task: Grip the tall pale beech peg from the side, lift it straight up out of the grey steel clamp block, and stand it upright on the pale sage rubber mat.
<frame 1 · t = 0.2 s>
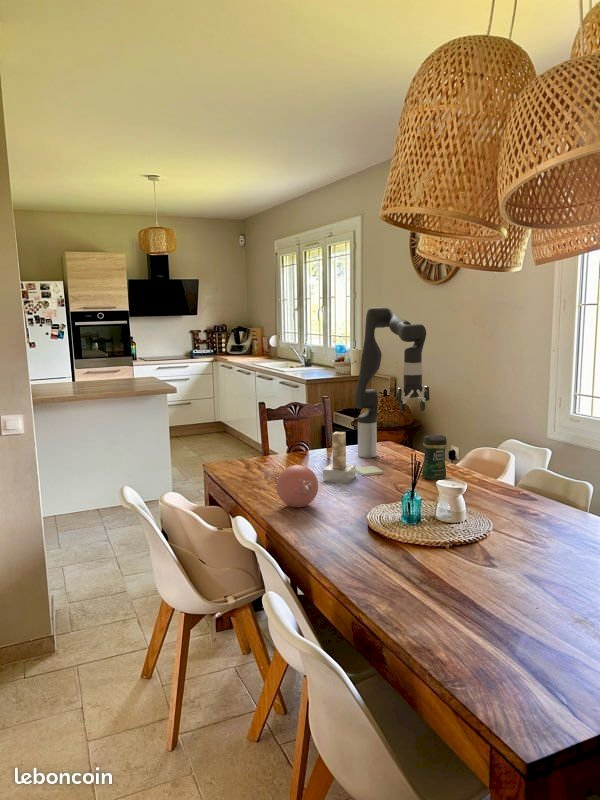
hand: (412, 411, 236), 29 cm above the table, tool pointing down, fingers open, 8 cm apart
sage mat: (368, 471, 253), on the table
pink rubber ball: (299, 508, 207), on the table
clamp block: (339, 478, 244), on the table
beech peg: (339, 455, 242), in the clamp block
coffee jar: (434, 478, 242), on the table
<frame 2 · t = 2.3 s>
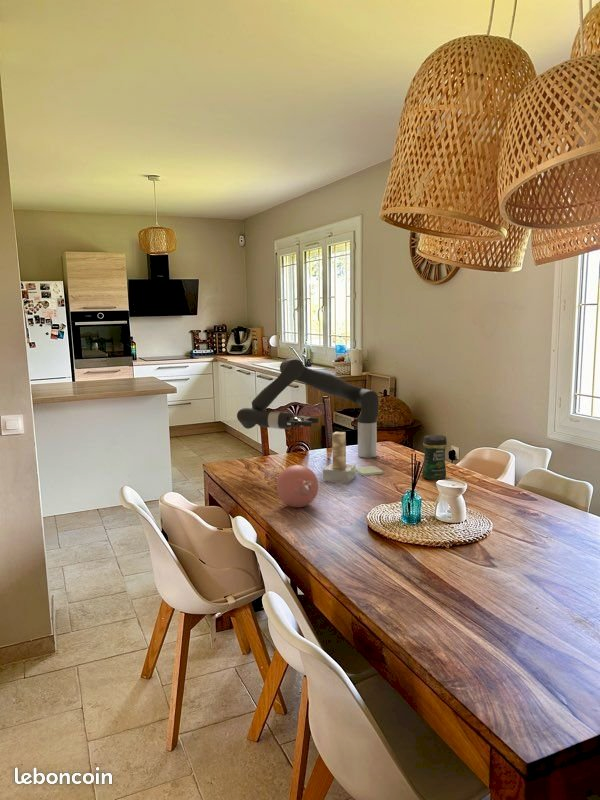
hand: (314, 422, 244), 24 cm above the table, tool horizontal, fingers open, 8 cm apart
nothing on the table moved.
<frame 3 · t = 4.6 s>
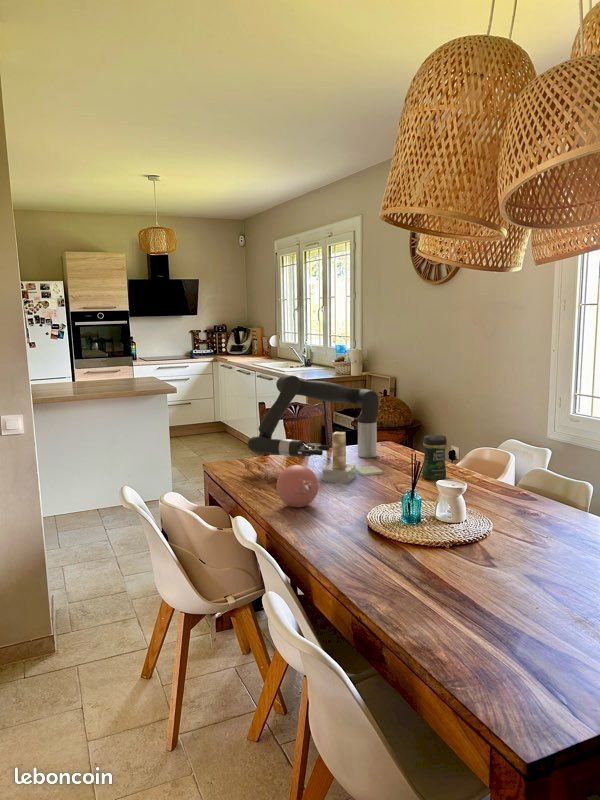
hand: (325, 450, 244), 12 cm above the table, tool horizontal, fingers open, 8 cm apart
nothing on the table moved.
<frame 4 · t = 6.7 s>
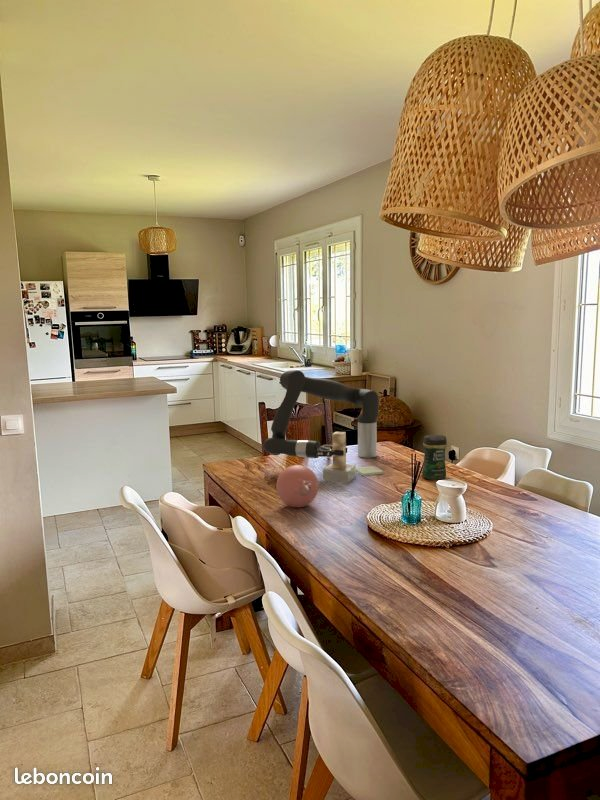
hand: (345, 451, 241), 12 cm above the table, tool horizontal, fingers closed on beech peg, 4 cm apart
beech peg: (339, 455, 242), in the clamp block, touching gripper
everything else where it was.
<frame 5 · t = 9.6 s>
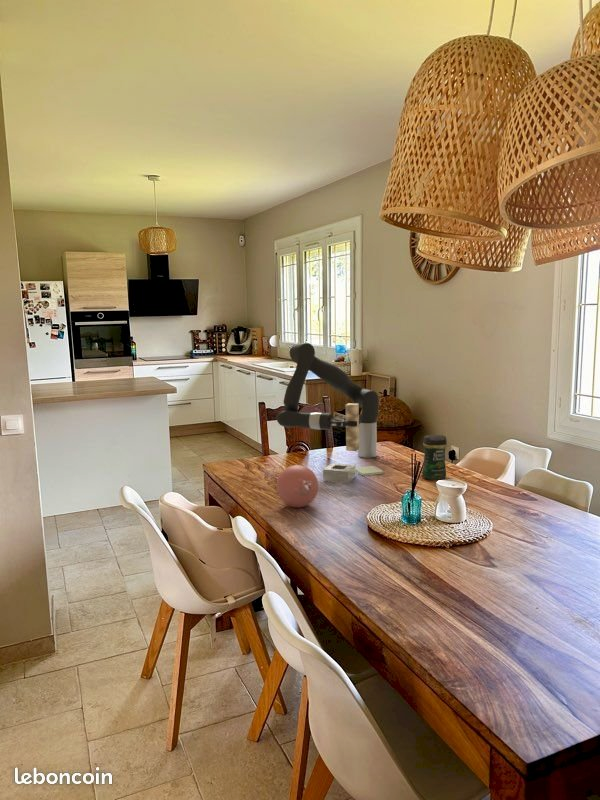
hand: (358, 422, 244), 24 cm above the table, tool horizontal, fingers closed on beech peg, 4 cm apart
beech peg: (352, 427, 245), point 22 cm above the table, touching gripper
everything else where it was.
when the fingers open (14 cm above the table, at t = 12.5 s): beech peg stays where it is, resting on sage mat.
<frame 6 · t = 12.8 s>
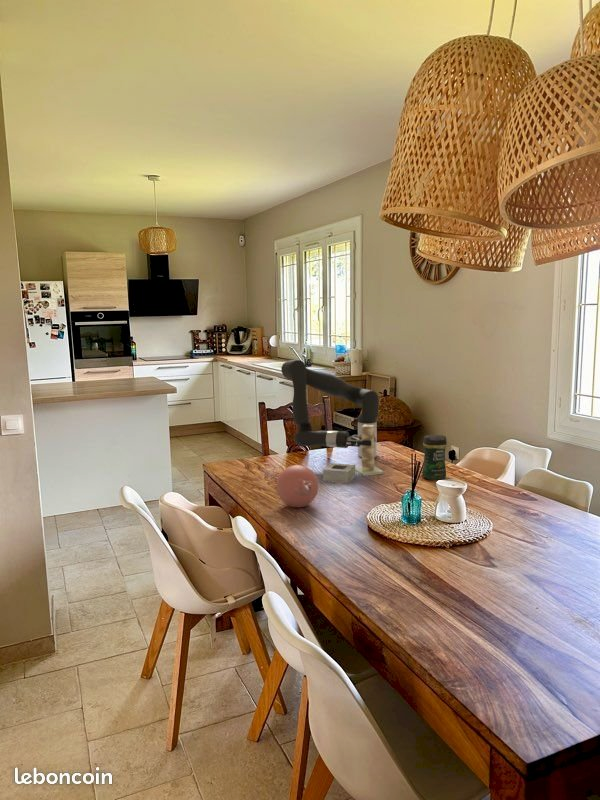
hand: (373, 441, 251), 14 cm above the table, tool horizontal, fingers open, 7 cm apart
beech peg: (368, 447, 252), on the sage mat, point 11 cm above the table
everything else where it was.
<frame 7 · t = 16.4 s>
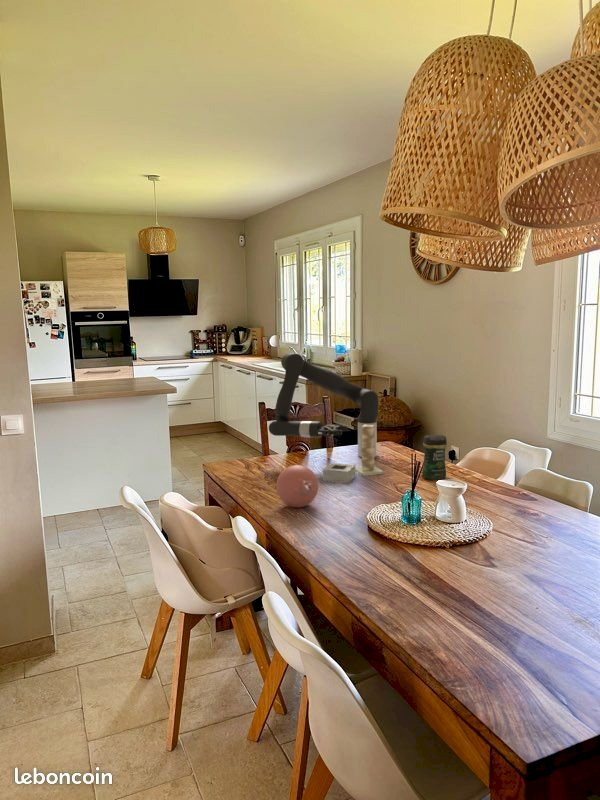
hand: (344, 430, 255), 18 cm above the table, tool horizontal, fingers open, 8 cm apart
nothing on the table moved.
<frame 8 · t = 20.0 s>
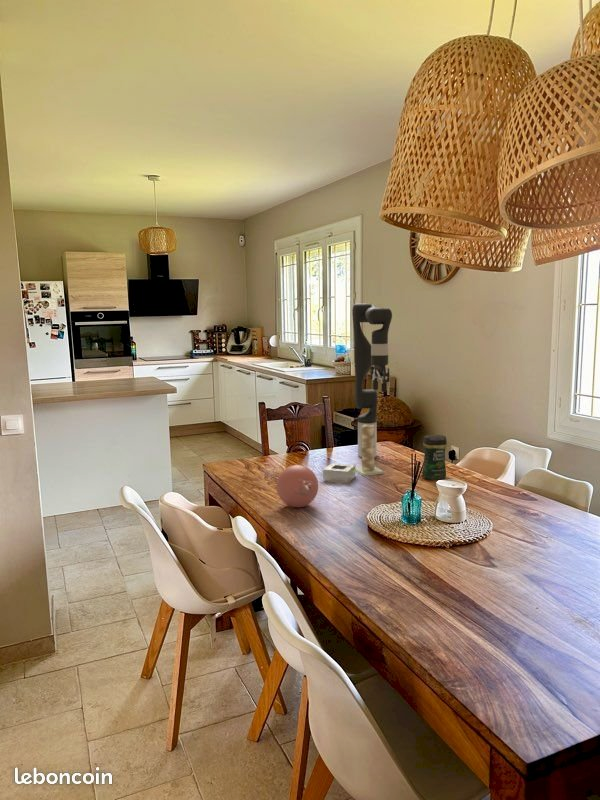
hand: (379, 390, 251), 36 cm above the table, tool pointing down, fingers open, 8 cm apart
nothing on the table moved.
at the end: beech peg inside the target area on the sage mat (0.1 cm from its centre), point 11.0 cm above the sage mat's base; beech peg tilted 0°; beech peg touching sage mat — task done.
